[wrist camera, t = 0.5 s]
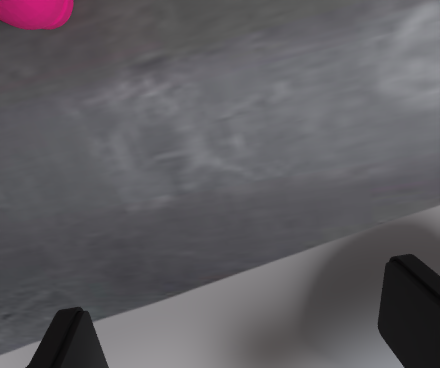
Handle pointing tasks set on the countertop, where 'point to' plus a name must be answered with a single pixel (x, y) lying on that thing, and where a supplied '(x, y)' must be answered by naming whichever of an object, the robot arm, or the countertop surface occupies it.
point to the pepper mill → (35, 13)
